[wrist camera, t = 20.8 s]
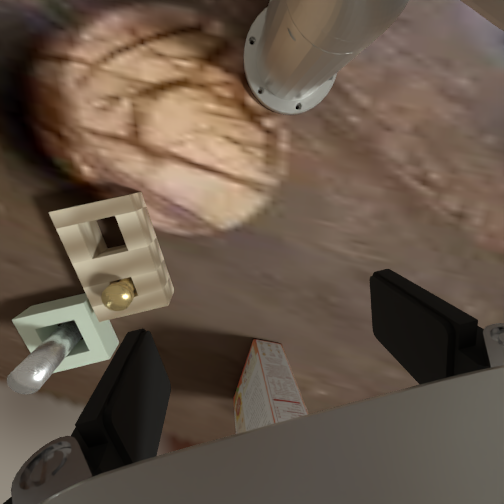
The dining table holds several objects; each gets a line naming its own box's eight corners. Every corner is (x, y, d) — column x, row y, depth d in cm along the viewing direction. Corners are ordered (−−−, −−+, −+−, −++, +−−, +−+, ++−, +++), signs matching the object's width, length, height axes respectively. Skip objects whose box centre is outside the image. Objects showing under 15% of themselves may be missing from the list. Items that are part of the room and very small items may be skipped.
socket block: (70, 207, 36) (48, 212, 32) (141, 191, 37) (129, 194, 32) (112, 304, 41) (99, 322, 37) (174, 290, 42) (168, 305, 37)
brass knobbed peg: (119, 267, 40) (96, 289, 32) (142, 262, 40) (125, 282, 32) (127, 288, 41) (107, 313, 33) (150, 283, 41) (135, 307, 34)
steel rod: (61, 317, 41) (0, 374, 30) (84, 312, 41) (32, 366, 30) (70, 336, 42) (16, 397, 31) (93, 331, 42) (46, 389, 31)
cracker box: (261, 401, 51) (287, 547, 31) (232, 397, 50) (240, 545, 30) (284, 342, 48) (330, 464, 28) (253, 336, 46) (278, 459, 27)
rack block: (31, 305, 40) (11, 319, 36) (96, 290, 40) (83, 302, 37) (59, 357, 43) (44, 375, 39) (119, 342, 43) (109, 359, 40)
